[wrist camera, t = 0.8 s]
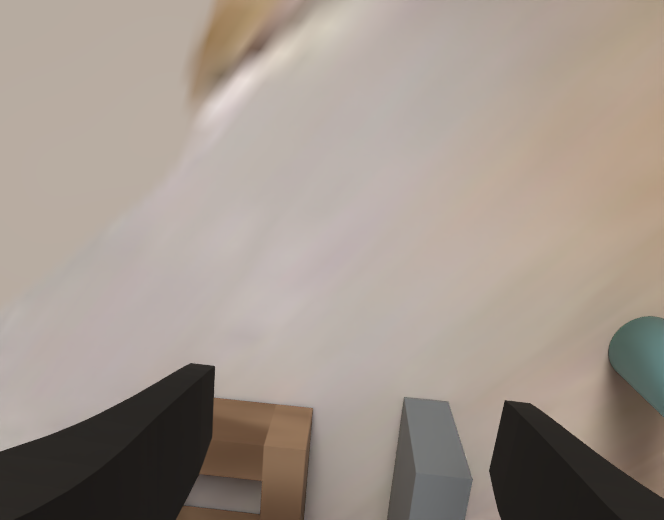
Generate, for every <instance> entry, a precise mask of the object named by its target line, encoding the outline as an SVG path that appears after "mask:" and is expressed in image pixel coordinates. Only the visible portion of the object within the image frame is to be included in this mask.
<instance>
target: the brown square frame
mask: <svg viewBox="0 0 664 520" xmlns="http://www.w3.org/2000/svg"><path fill="white" fill-rule="evenodd" d="M142 391H143V390H142ZM312 412H313V408H305V407H296V406H287V405H277V404H268V403H258V402H249V401H239V400H230V399H220V398H214V406H213V433H212V439H211V442H210V445H209V448H208V451H207V454H206V457H205V459H204V462H203V465H202V468H201V470H200V473H199V474H204V475H213V476H222V477H231V478H240V479H249V480H259V481H262V491H261V510H260V514H252V513H243V512H234V511H226V510H217V509H208V508H199V507H190V506H183V507H182V509H181V511H180V513H179V515H178V517H177V518H176V520H304V511H305V498H306V486H307V474H308V461H309V449H310V437H311V425H312Z"/></svg>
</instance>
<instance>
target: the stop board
mask: <svg viewBox="0 0 664 520" xmlns="http://www.w3.org/2000/svg"><path fill="white" fill-rule="evenodd" d="M472 480H473V479H472V476H471V473H470V469H469V466H468V463H467V460H466V457H465V453H464V450H463V447H462V444H461V441H460V438H459V434H458V431H457V428H456V425H455V422H454V418H453V415H452V412H451V409H450V406H449V403H448V402H445V401H436V400H426V399H417V398H407V397H404V402H403V409H402V416H401V424H400V431H399V438H398V445H397V452H396V460H395V467H394V474H393V481H392V488H391V496H390V503H389V510H388V517H387V520H465V516H466V511H467V506H468V501H469V495H470V490H471V485H472Z"/></svg>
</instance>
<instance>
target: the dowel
mask: <svg viewBox="0 0 664 520" xmlns="http://www.w3.org/2000/svg"><path fill="white" fill-rule="evenodd" d="M609 360H610V363H611V365H612V367H613V368H614V369H615V370H616V372H618V373H619V374H620V375H621V376H622V377H623V378H624V379H625V380H626V381H627V382H628V383H629V384H630V385H631V386H632V387H633V388H634V389H635V390H636V391H637V392H638V393H639V394H640V395H641V396H642V397H643V398H644V399H645V400H646V401H647V402H649V403H650V404H651V405H652V406H653V407H654V408H655V409H656V410H657V411H658V412H659V413H660V414H661V415H662V416H663V417H664V319H663V318H659V317H653V316H648V317H641V318H637V319H634V320H632V321H630V322H628V323H626V324H625V325H623V326H622V327H621V328H620V329H619V330H618V331H617V332H616V333H615V335H614V336H613V338H612V340H611V342H610V345H609Z"/></svg>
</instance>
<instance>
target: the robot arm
mask: <svg viewBox="0 0 664 520" xmlns="http://www.w3.org/2000/svg"><path fill="white" fill-rule="evenodd" d="M214 379H215V366H210V365H202V364H193V363H190V364H188V365H186V366H184V367H183V368H181V369H179V370H177V371H176V372H174V373H172V374H170V375H169V376H167V377H165V378H164V379H162V380H160V381H159V382H157V383H155V384H153V385H152V386H150V387H148V388H147V389H145V390H143V391H141V392H140V393H138V394H136V395H134V396H133V397H131V398H129V399H127V400H125V401H123V402H121V403H119V404H117V405H115V406H113V407H111V408H109V409H107V410H105V411H104V412H102V413H100V414H98V415H96V416H93V417H91V418H89V419H87V420H85V421H82V422H80V423H78V424H76V425H73V426H71V427H68V428H66V429H63V430H61V431H58V432H56V433H53V434H51V435H48V436H46V437H43V438H40V439H37V440H34V441H31V442H28V443H25V444H22V445H19V446H16V447H13V448H10V449H7V450H4V451H1V452H0V520H176V518H177V517H178V515H179V513H180V511H181V509H182V507H183V505H184V503H185V501H186V499H187V497H188V495H189V493H190V491H191V489H192V487H193V485H194V483H195V481H196V479H197V477H198V475H199V473H200V470H201V468H202V465H203V462H204V459H205V457H206V454H207V451H208V448H209V445H210V442H211V439H212V433H213V406H214ZM489 472H490V477H491V482H492V487H493V491H494V496H495V500H496V504H497V508H498V512H499V515H500V517H501V520H664V499H663V498H662V497H660V496H659V495H657V494H655V493H654V492H652V491H651V490H649V489H648V488H646V487H644V486H643V485H641V484H640V483H639V482H637V481H636V480H634V479H633V478H631V477H630V476H628V475H627V474H625V473H624V472H623V471H621V470H620V469H618V468H617V467H615V466H614V465H613V464H611V463H610V462H608V461H607V460H606V459H604V458H603V457H602V456H600V455H599V454H598V453H596V452H595V451H594V450H592V449H591V448H590V447H588V446H587V445H586V444H584V443H583V442H582V441H580V440H579V439H578V438H576V437H575V436H574V435H573V434H571V433H570V432H569V431H567V430H566V429H565V428H564V427H562V426H561V425H560V424H558V423H557V422H556V421H554V420H553V419H552V418H550V417H549V416H548V415H546V414H545V413H544V412H542V411H541V410H540V409H538V408H537V407H535V406H534V405H532V404H530V403H523V402H515V401H506V400H505V402H504V407H503V411H502V416H501V420H500V425H499V429H498V433H497V438H496V442H495V447H494V451H493V456H492V460H491V465H490V469H489Z"/></svg>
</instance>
